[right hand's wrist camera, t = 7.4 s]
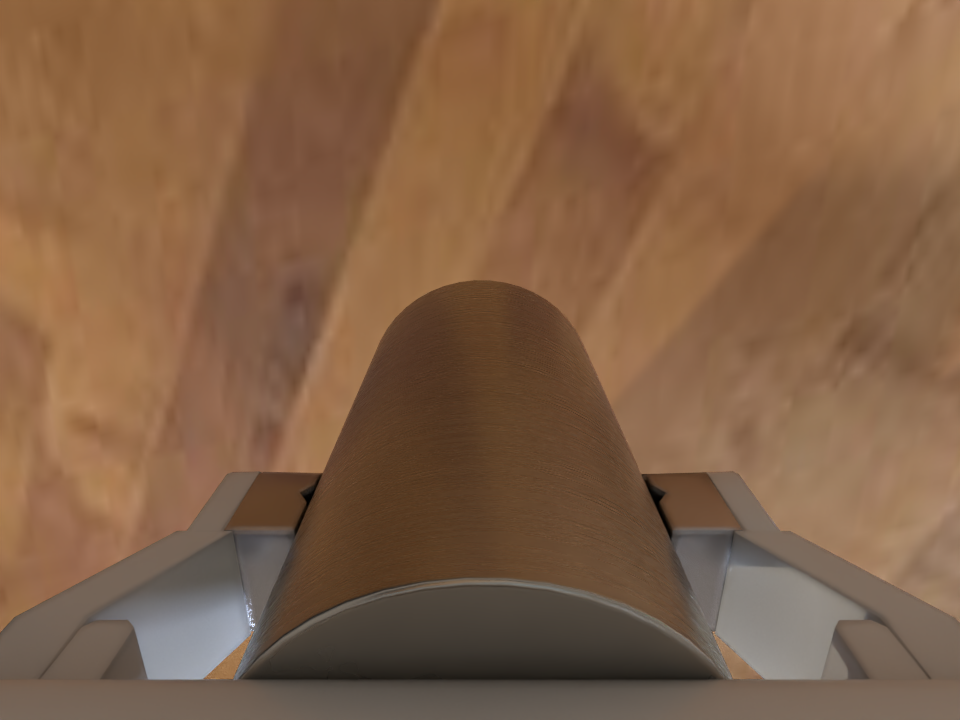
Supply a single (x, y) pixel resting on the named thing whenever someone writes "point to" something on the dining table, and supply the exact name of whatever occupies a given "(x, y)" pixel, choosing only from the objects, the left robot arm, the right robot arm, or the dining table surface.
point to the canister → (482, 518)
